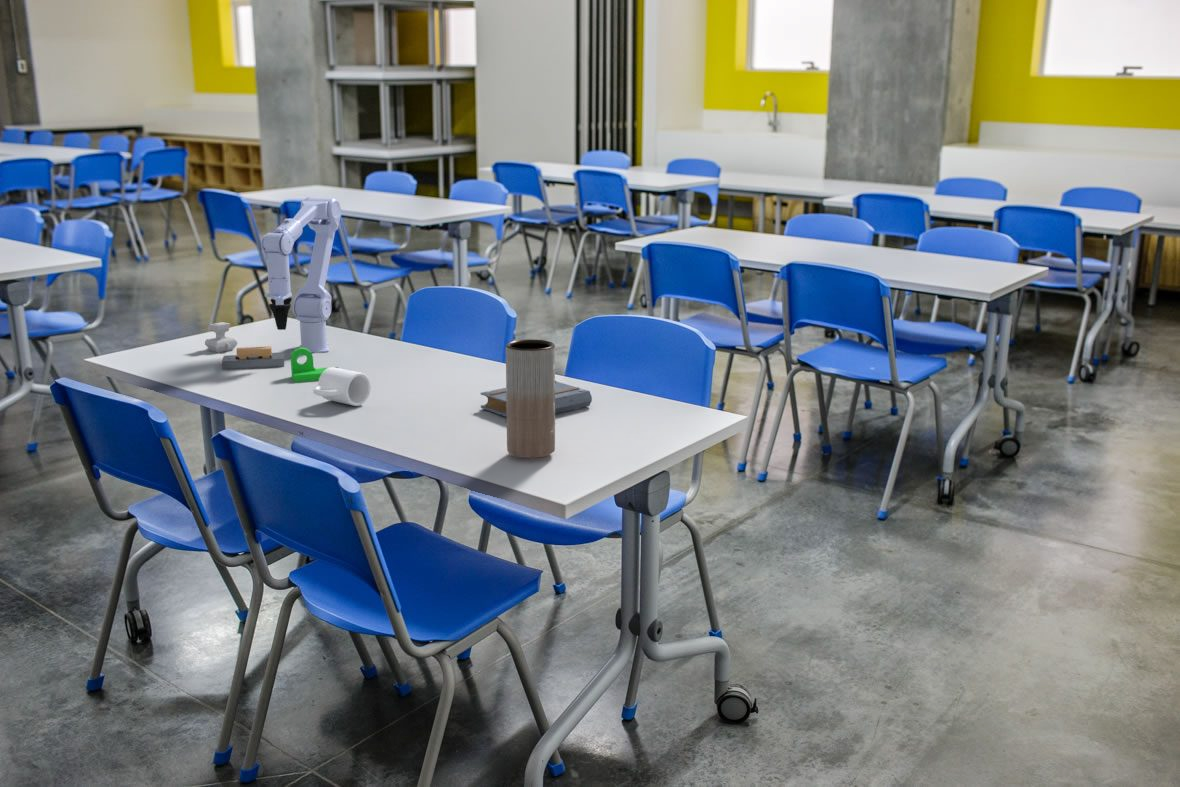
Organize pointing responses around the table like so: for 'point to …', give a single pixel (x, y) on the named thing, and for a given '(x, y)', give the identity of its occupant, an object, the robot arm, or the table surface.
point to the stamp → (220, 338)
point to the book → (564, 399)
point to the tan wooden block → (254, 352)
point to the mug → (343, 386)
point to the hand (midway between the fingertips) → (282, 326)
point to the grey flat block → (253, 362)
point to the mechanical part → (304, 367)
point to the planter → (530, 398)
